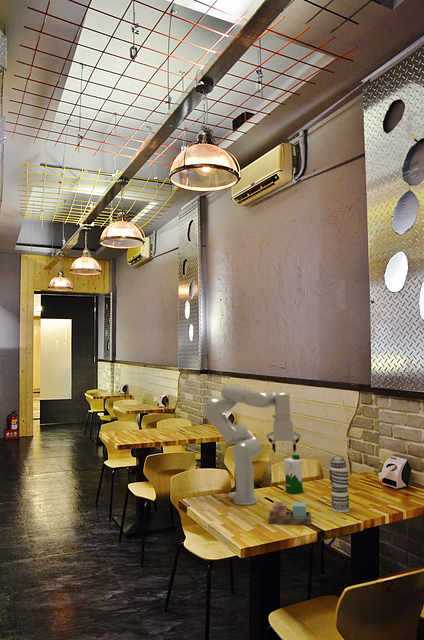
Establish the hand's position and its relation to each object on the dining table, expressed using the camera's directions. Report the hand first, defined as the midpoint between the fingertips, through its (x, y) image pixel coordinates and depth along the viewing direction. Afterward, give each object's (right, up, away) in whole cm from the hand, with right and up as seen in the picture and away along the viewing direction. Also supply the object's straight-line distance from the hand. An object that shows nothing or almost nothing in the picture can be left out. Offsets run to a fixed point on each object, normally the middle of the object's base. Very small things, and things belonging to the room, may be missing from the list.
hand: (284, 452), depth 234 cm
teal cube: (+4, -25, -18) cm, 31 cm away
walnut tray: (0, -27, -18) cm, 32 cm away
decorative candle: (+27, -28, -3) cm, 39 cm away
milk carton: (+10, -31, +29) cm, 44 cm away
